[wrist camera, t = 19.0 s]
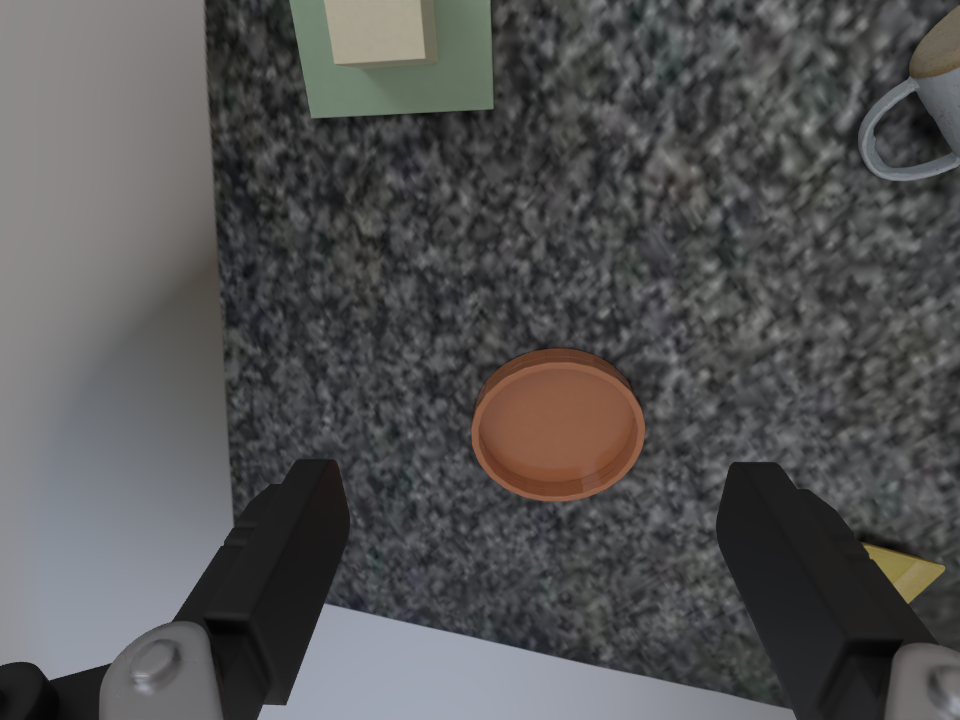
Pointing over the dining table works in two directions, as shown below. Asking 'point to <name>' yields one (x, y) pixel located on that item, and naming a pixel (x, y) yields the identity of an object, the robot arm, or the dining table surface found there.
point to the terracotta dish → (557, 425)
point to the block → (382, 32)
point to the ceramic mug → (924, 100)
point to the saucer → (905, 570)
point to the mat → (400, 67)
